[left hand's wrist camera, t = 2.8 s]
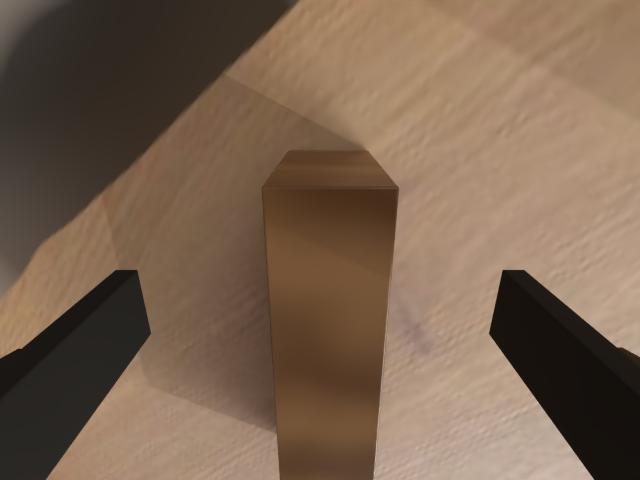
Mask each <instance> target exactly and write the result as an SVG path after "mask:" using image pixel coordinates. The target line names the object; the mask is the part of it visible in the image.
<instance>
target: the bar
mask: <svg viewBox="0 0 640 480" xmlns="http://www.w3.org/2000/svg"><path fill="white" fill-rule="evenodd" d="M398 194H399V188H398V186H397V185H396V184H395V183H394V182H393V180H392V179H391V178H390V177H389V175H388V174H387V173H386V172H385V171H384V169H383V168H382V167H381V166H380V165H379V163H378V162H377V161H376V160H375V159H374V157H373V156H372V155H371V154H370V153H369V151H288V153H287V154H286V155H285V157H284V158H283V159H282V161H281V162H280V164H279V165H278V166H277V168H276V169H275V170H274V172H273V173H272V174H271V176H270V177H269V179H268V180H267V181H266V183H265V184H264V185H263V187H262V200H263V216H264V232H265V248H266V264H267V280H268V296H269V312H270V328H271V344H272V361H273V377H274V393H275V409H276V425H277V441H278V457H279V473H280V480H374V478H375V466H376V454H377V442H378V430H379V418H380V407H381V395H382V383H383V371H384V359H385V348H386V336H387V324H388V312H389V300H390V289H391V277H392V265H393V253H394V241H395V229H396V218H397V206H398Z"/></svg>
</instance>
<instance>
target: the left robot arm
mask: <svg viewBox="0 0 640 480" xmlns="http://www.w3.org/2000/svg"><path fill="white" fill-rule="evenodd" d="M150 334H151V332H150V327H149V322H148V318H147V313H146V308H145V304H144V299H143V294H142V290H141V285H140V281H139V276H138V271H137V270H115V271H114V272H113V273H112V274H111V275H109V276H108V277H107V278H106V279H105V280H103V281H102V282H101V283H100V284H99V285H97V286H96V287H95V288H94V289H93V290H91V291H90V292H89V293H88V294H87V295H85V296H84V297H83V298H82V299H81V300H79V301H78V302H77V303H76V304H75V305H73V306H72V307H71V308H70V309H69V310H68V311H66V312H65V313H64V314H63V315H62V316H60V317H59V318H58V319H57V320H56V321H54V322H53V323H52V324H51V325H50V326H48V327H47V328H46V329H45V330H44V331H42V332H41V333H40V334H39V335H38V336H36V337H35V338H34V339H33V340H32V341H30V342H29V343H28V344H27V345H26V346H24V347H23V348H22V349H17V350H15V351H13V352H12V353H10V354H8V355H6V356H4V357H2V358H1V359H0V480H46V479H47V477H48V476H49V474H50V473H51V472H52V470H53V469H54V467H55V466H56V465H57V463H58V462H59V461H60V459H61V458H62V456H63V455H64V454H65V452H66V451H67V449H68V448H69V447H70V445H71V444H72V442H73V441H74V440H75V438H76V437H77V436H78V434H79V433H80V431H81V430H82V429H83V427H84V426H85V424H86V423H87V422H88V420H89V419H90V418H91V416H92V415H93V413H94V412H95V411H96V409H97V408H98V406H99V405H100V404H101V402H102V401H103V400H104V398H105V397H106V395H107V394H108V393H109V391H110V390H111V388H112V387H113V386H114V384H115V383H116V381H117V380H118V379H119V377H120V376H121V375H122V373H123V372H124V370H125V369H126V368H127V366H128V365H129V363H130V362H131V361H132V359H133V358H134V357H135V355H136V354H137V352H138V351H139V350H140V348H141V347H142V345H143V344H144V343H145V341H146V340H147V339H148V337H149V336H150ZM489 334H490V336H491V337H492V339H493V340H494V341H495V343H496V344H497V345H498V347H499V348H500V350H501V351H502V352H503V354H504V355H505V357H506V358H507V359H508V361H509V362H510V363H511V365H512V366H513V368H514V369H515V370H516V372H517V373H518V375H519V376H520V377H521V379H522V380H523V382H524V383H525V384H526V386H527V387H528V388H529V390H530V391H531V393H532V394H533V395H534V397H535V398H536V400H537V401H538V402H539V404H540V405H541V406H542V408H543V409H544V411H545V412H546V413H547V415H548V416H549V418H550V419H551V420H552V422H553V423H554V424H555V426H556V427H557V429H558V430H559V431H560V433H561V434H562V436H563V437H564V438H565V440H566V441H567V442H568V444H569V445H570V447H571V448H572V449H573V451H574V452H575V454H576V455H577V456H578V458H579V459H580V461H581V462H582V463H583V465H584V466H585V467H586V469H587V470H588V472H589V473H590V474H591V476H592V477H593V479H594V480H640V357H638V356H637V355H635V354H633V353H631V352H629V351H628V350H626V349H624V348H617V347H616V346H614V345H613V344H612V343H611V342H610V341H608V340H607V339H606V338H605V337H604V336H602V335H601V334H600V333H599V332H598V331H596V330H595V329H594V328H593V327H592V326H590V325H589V324H588V323H587V322H586V321H584V320H583V319H582V318H581V317H580V316H578V315H577V314H576V313H575V312H574V311H572V310H571V309H570V308H569V307H568V306H567V305H565V304H564V303H563V302H562V301H561V300H559V299H558V298H557V297H556V296H555V295H553V294H552V293H551V292H550V291H549V290H547V289H546V288H545V287H544V286H543V285H541V284H540V283H539V282H538V281H537V280H535V279H534V278H533V277H532V276H531V275H529V274H528V273H527V272H526V271H525V270H503V271H502V276H501V281H500V285H499V290H498V294H497V299H496V304H495V308H494V313H493V318H492V322H491V327H490V332H489Z"/></svg>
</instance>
